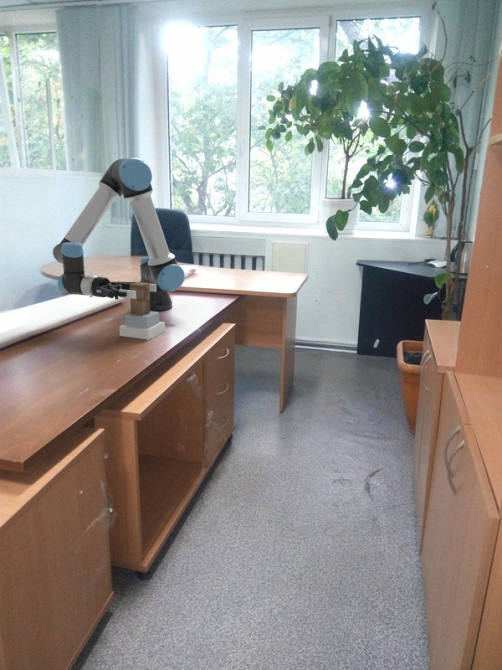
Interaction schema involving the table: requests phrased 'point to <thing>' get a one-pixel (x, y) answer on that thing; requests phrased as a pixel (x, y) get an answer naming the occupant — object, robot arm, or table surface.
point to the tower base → (142, 331)
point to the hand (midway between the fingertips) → (146, 291)
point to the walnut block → (140, 298)
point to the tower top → (142, 320)
